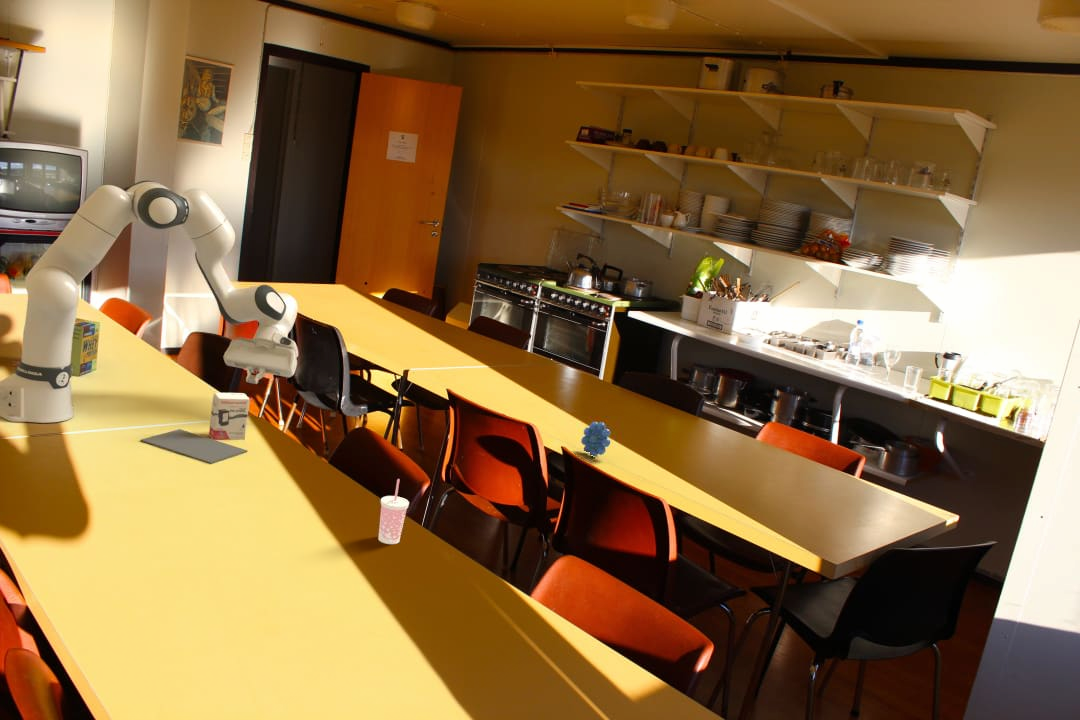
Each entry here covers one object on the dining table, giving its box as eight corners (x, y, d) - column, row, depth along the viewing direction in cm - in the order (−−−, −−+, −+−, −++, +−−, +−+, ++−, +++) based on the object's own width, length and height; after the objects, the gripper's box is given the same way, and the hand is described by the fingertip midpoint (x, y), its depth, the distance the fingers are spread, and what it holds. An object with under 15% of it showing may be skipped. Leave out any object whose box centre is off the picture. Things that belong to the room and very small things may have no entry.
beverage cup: (390, 548, 191) (399, 486, 188) (368, 538, 194) (378, 477, 191) (408, 541, 196) (418, 481, 194) (387, 531, 199) (397, 472, 197)
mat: (140, 441, 226) (140, 439, 226) (179, 430, 240) (179, 429, 239) (210, 464, 220) (210, 462, 220) (247, 451, 233) (247, 450, 233)
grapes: (614, 462, 284) (622, 426, 282) (600, 463, 280) (607, 427, 277) (589, 450, 293) (596, 415, 290) (574, 451, 288) (581, 415, 286)
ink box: (212, 440, 237) (217, 397, 235) (208, 434, 241) (213, 392, 239) (245, 439, 242) (250, 398, 240) (240, 434, 246) (245, 392, 244)
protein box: (79, 377, 270) (84, 327, 268) (29, 368, 270) (32, 317, 267) (97, 370, 281) (101, 322, 278) (48, 361, 280) (52, 313, 278)
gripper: (231, 329, 257) (212, 368, 249) (300, 343, 256) (283, 382, 248) (236, 342, 262) (218, 381, 255) (303, 355, 261) (287, 394, 254)
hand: (251, 382), depth 251 cm, fingers closed
